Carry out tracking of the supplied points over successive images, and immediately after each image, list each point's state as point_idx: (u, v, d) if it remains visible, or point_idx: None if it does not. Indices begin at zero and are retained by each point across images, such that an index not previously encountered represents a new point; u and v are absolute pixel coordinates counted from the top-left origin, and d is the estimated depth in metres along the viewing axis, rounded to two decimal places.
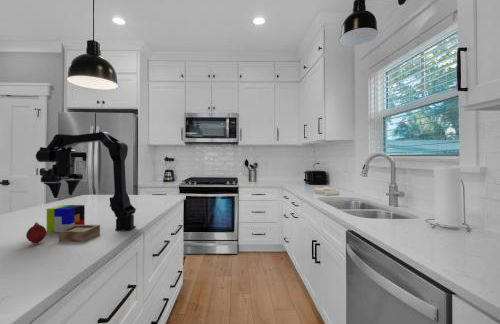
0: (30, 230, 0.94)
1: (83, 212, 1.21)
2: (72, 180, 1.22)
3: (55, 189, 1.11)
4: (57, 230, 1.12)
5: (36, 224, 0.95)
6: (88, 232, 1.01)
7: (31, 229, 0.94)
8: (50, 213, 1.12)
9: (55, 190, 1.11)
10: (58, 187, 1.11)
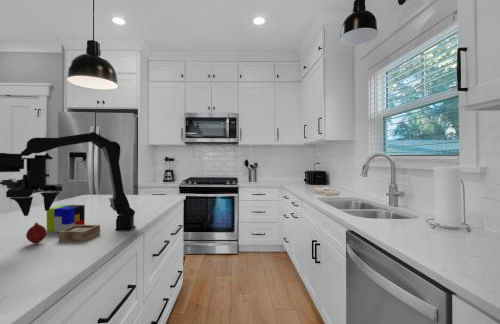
0: (30, 230, 0.94)
1: (83, 212, 1.21)
2: (49, 193, 1.01)
3: (25, 205, 0.90)
4: (57, 230, 1.12)
5: (36, 224, 0.95)
6: (88, 232, 1.01)
7: (31, 229, 0.94)
8: (50, 213, 1.12)
9: (25, 207, 0.90)
10: (29, 203, 0.90)
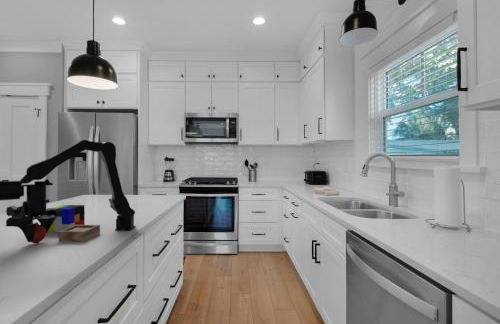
0: None
1: (83, 212, 1.21)
2: (46, 218, 0.99)
3: (29, 232, 0.91)
4: (57, 230, 1.12)
5: (36, 224, 0.95)
6: (88, 232, 1.01)
7: None
8: None
9: (29, 233, 0.91)
10: (32, 229, 0.91)
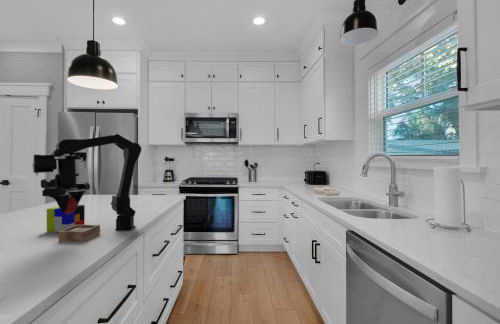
0: None
1: (83, 212, 1.21)
2: (76, 191, 1.05)
3: (62, 202, 0.97)
4: (57, 230, 1.12)
5: None
6: (88, 232, 1.01)
7: None
8: (50, 213, 1.12)
9: (63, 204, 0.97)
10: (66, 200, 0.97)
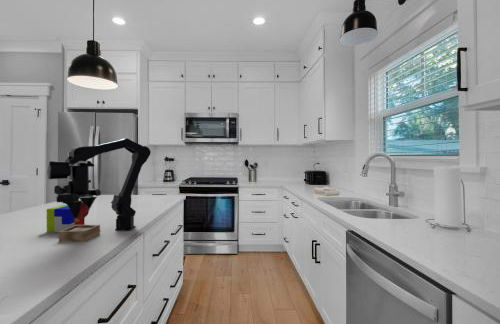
0: None
1: None
2: (87, 198, 1.07)
3: (75, 208, 0.99)
4: (57, 230, 1.12)
5: None
6: (88, 232, 1.01)
7: None
8: (50, 214, 1.12)
9: (75, 210, 0.99)
10: (78, 206, 0.99)
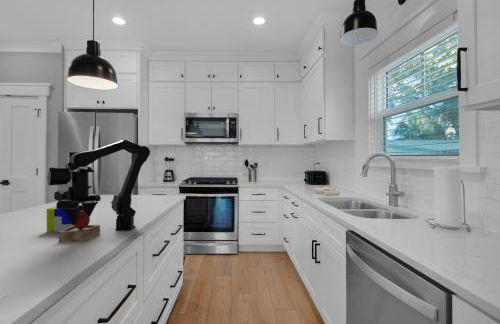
0: None
1: None
2: (89, 203, 1.08)
3: (73, 215, 0.98)
4: (57, 230, 1.12)
5: (82, 211, 1.03)
6: (88, 232, 1.01)
7: (77, 216, 1.02)
8: (50, 213, 1.12)
9: (73, 216, 0.98)
10: (76, 213, 0.98)
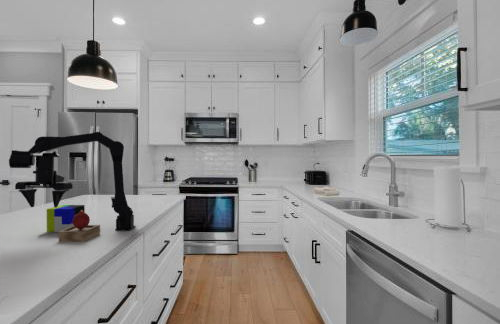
0: (76, 216, 1.02)
1: None
2: None
3: None
4: (57, 230, 1.12)
5: (81, 211, 1.03)
6: (88, 232, 1.01)
7: (77, 216, 1.02)
8: (50, 213, 1.12)
9: None
10: (24, 195, 1.00)
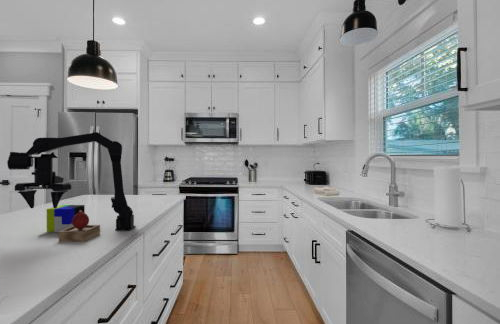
0: (75, 216, 1.02)
1: (83, 212, 1.21)
2: None
3: None
4: (57, 230, 1.12)
5: (80, 212, 1.03)
6: (88, 232, 1.01)
7: (76, 216, 1.02)
8: (50, 213, 1.12)
9: None
10: (24, 197, 1.00)
